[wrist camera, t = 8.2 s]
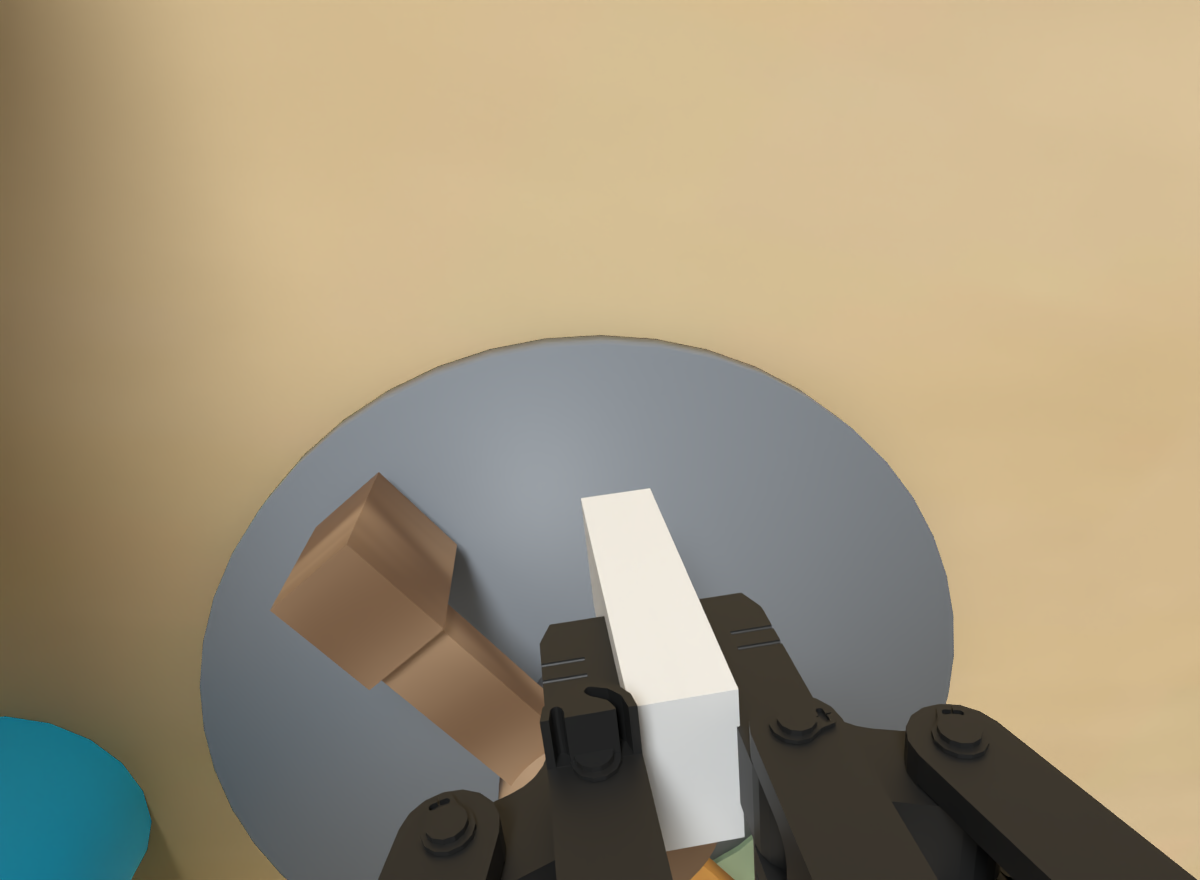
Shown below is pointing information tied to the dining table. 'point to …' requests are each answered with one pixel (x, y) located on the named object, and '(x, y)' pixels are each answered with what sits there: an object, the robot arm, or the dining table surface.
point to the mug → (66, 807)
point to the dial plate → (563, 568)
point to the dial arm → (423, 638)
